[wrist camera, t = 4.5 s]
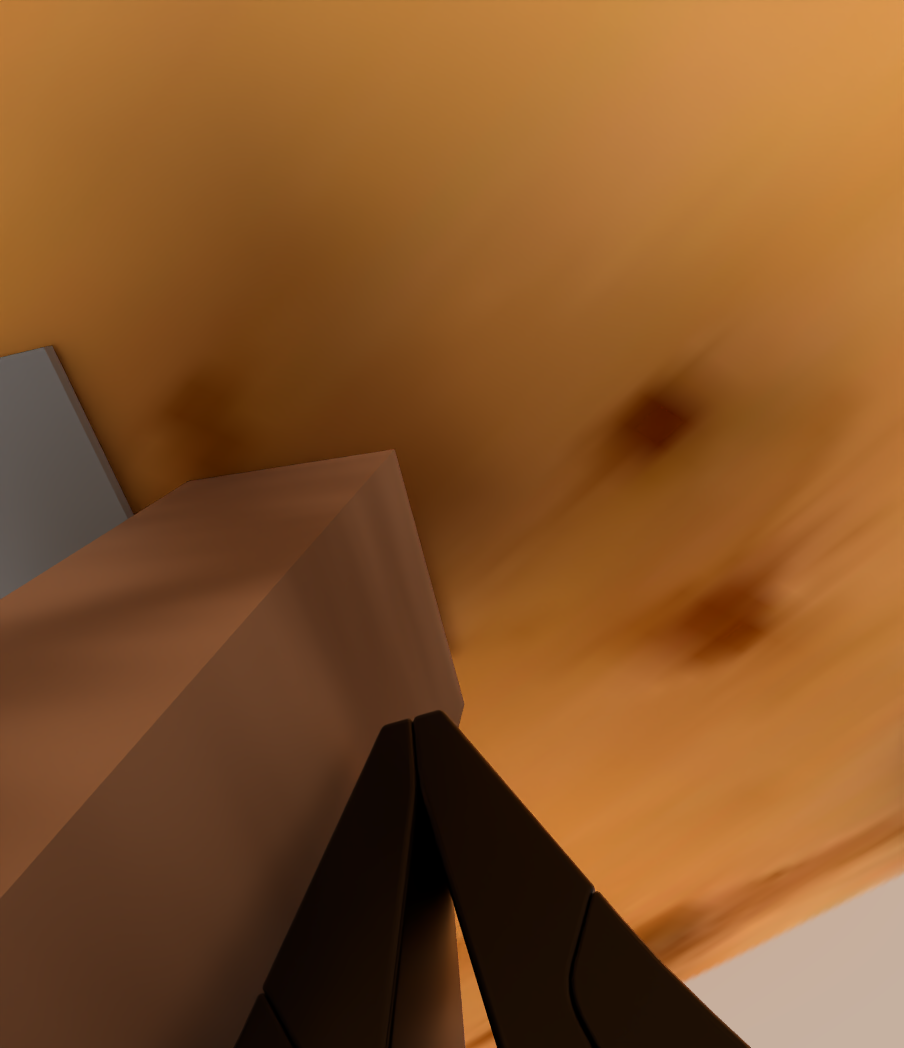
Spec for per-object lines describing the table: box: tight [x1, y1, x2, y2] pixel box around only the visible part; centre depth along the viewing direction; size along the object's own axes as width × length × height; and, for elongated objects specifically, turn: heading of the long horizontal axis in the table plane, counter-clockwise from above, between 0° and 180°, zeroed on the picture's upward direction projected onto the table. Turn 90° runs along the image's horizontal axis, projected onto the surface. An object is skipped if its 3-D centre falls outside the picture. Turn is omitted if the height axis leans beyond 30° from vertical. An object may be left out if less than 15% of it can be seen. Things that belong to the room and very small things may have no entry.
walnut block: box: [0, 449, 464, 1048], centre depth 8 cm, size 4×6×9 cm
